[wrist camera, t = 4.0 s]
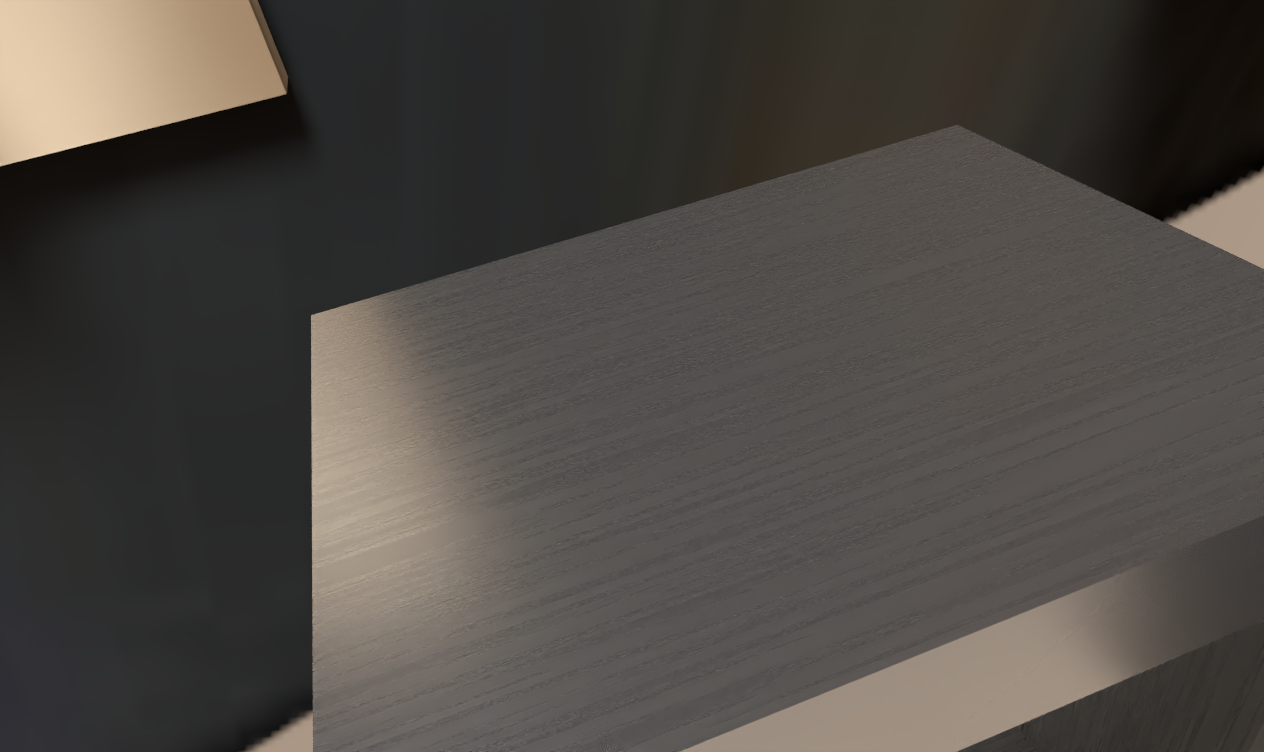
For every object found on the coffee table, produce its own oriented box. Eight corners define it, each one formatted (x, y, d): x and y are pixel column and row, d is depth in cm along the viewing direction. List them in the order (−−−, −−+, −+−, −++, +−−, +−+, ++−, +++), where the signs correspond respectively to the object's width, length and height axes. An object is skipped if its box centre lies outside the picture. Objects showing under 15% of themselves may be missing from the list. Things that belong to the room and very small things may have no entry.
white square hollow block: (957, 125, 8) (1544, 401, 4) (929, 558, 12) (1231, 920, 8) (310, 315, 7) (314, 898, 3) (497, 723, 11) (602, 1228, 7)
